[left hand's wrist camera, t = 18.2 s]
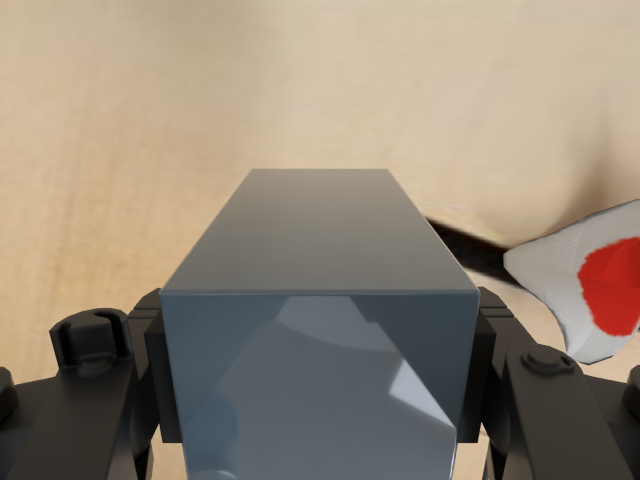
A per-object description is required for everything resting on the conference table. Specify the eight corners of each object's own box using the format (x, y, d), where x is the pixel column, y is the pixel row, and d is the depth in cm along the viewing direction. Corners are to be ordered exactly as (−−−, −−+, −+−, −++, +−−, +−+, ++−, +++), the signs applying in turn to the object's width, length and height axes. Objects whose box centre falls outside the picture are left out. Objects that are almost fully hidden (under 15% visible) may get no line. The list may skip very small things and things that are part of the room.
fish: (669, 425, 29) (796, 484, 20) (464, 302, 33) (486, 301, 24) (748, 293, 29) (912, 288, 20) (535, 187, 34) (585, 140, 24)
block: (258, 296, 18) (193, 528, 9) (250, 168, 16) (156, 291, 7) (381, 296, 18) (446, 528, 9) (388, 168, 16) (482, 291, 7)
